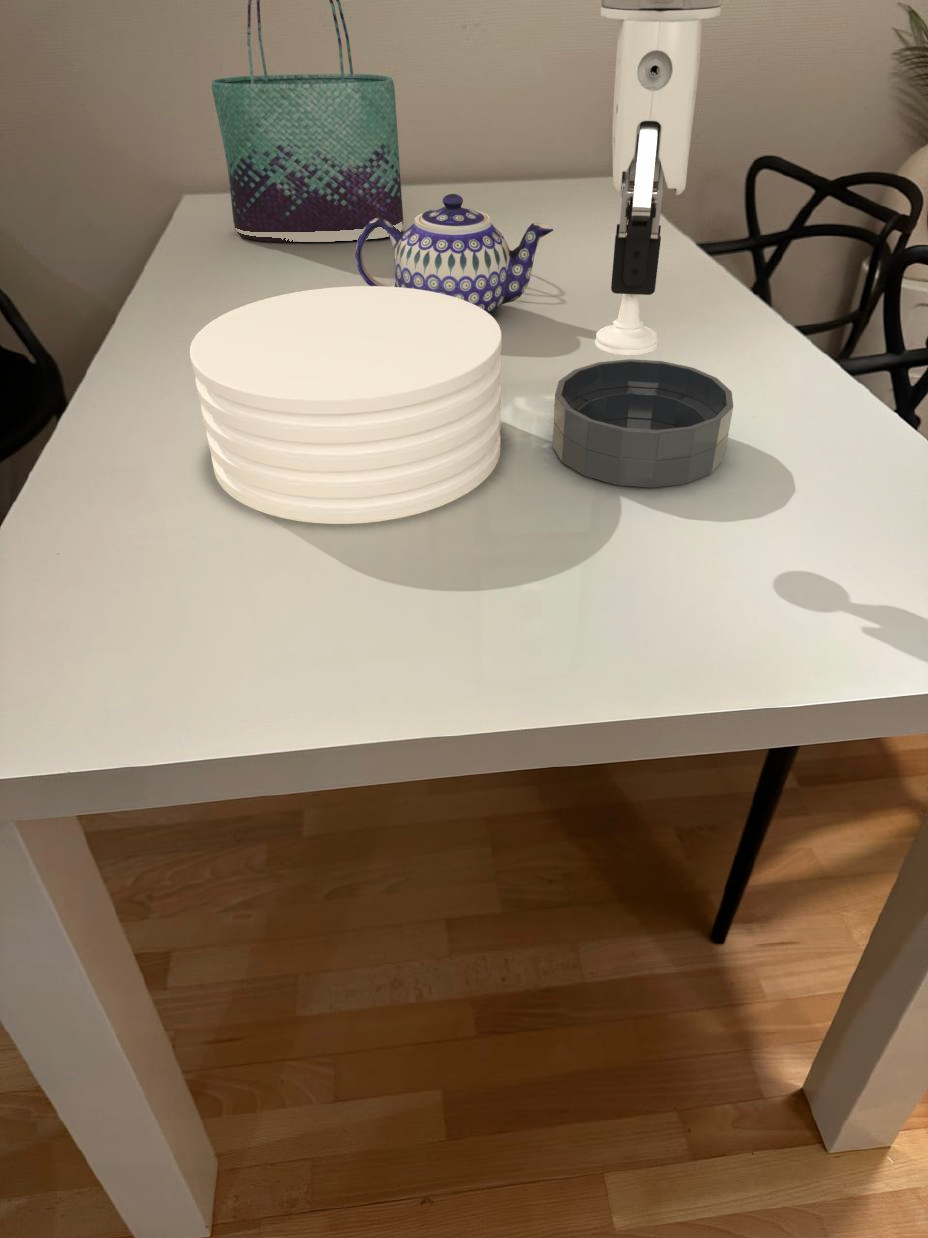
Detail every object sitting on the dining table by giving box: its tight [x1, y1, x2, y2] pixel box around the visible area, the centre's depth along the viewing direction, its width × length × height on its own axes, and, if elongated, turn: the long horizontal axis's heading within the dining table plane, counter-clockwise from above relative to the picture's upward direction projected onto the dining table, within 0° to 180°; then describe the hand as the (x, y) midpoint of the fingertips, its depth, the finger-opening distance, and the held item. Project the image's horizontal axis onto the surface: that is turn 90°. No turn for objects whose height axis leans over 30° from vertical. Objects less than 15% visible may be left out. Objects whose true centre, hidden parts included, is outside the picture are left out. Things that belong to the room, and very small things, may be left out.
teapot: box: [354, 193, 554, 315], centre depth 114 cm, size 25×15×15 cm, turn 85°
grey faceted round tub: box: [552, 358, 734, 489], centre depth 85 cm, size 16×16×6 cm
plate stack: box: [189, 285, 503, 525], centre depth 85 cm, size 28×28×12 cm
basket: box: [211, 0, 404, 243], centre depth 138 cm, size 28×12×40 cm, turn 88°
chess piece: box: [594, 233, 659, 356], centre depth 67 cm, size 5×5×10 cm
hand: (633, 284), depth 67 cm, fingers closed on chess piece
